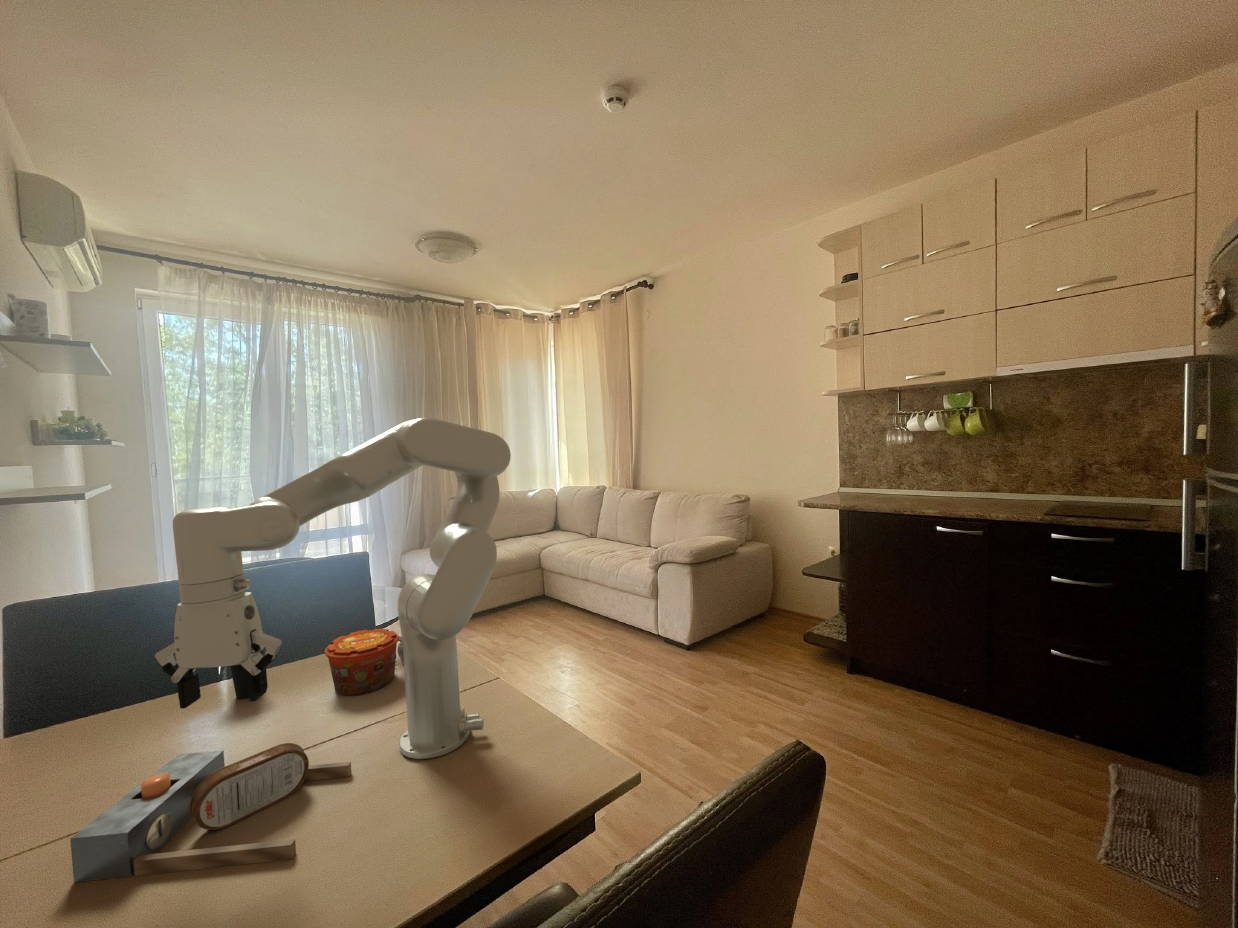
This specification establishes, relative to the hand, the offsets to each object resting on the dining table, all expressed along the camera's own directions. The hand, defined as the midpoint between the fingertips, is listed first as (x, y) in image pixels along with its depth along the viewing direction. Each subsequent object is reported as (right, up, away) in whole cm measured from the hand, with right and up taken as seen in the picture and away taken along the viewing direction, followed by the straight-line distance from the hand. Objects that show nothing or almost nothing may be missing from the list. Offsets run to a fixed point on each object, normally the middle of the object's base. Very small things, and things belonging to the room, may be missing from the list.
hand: (224, 700), depth 75 cm
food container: (-1, -17, +44) cm, 48 cm away
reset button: (-10, -16, -1) cm, 18 cm away
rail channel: (+4, -18, +1) cm, 19 cm away
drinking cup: (-27, -18, +41) cm, 53 cm away
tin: (+3, -19, +3) cm, 19 cm away
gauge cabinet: (-10, -19, 0) cm, 21 cm away
